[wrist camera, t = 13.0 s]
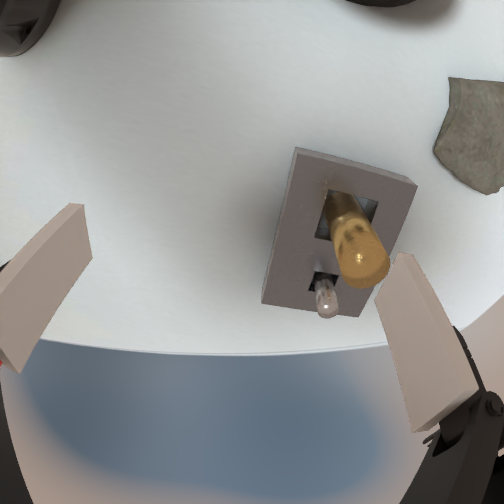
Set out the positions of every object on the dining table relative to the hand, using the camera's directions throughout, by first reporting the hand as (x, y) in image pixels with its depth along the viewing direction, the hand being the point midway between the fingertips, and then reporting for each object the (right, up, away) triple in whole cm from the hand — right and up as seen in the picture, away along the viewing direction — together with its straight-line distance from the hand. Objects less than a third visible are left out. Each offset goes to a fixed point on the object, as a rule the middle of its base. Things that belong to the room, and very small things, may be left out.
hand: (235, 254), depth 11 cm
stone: (+30, +15, +15) cm, 37 cm away
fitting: (+11, +5, +22) cm, 25 cm away
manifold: (+11, +2, +24) cm, 27 cm away
